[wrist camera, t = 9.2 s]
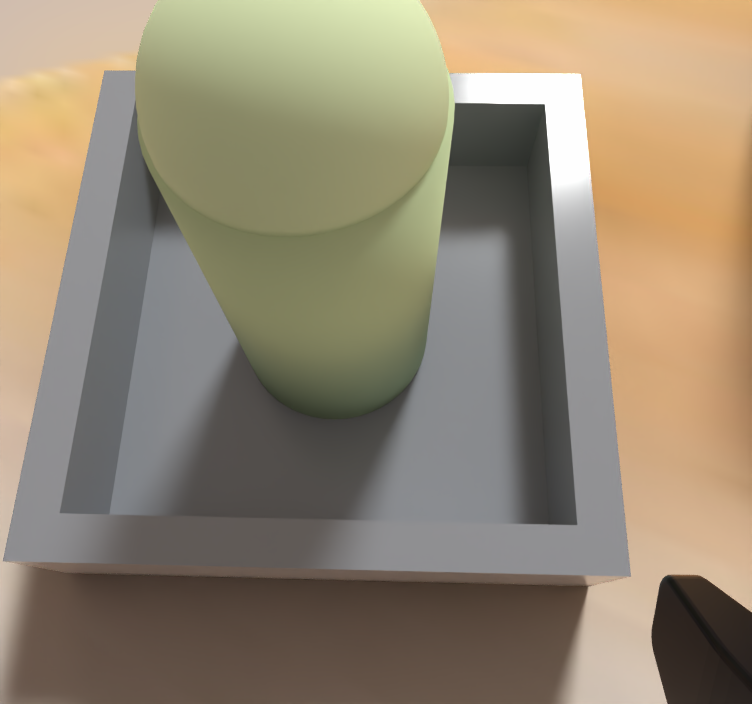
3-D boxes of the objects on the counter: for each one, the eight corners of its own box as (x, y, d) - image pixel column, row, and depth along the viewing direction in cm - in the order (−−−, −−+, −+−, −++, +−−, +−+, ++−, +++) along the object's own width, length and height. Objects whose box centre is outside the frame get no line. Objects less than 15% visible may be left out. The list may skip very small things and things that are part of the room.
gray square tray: (68, 573, 20) (2, 561, 16) (143, 146, 25) (104, 70, 21) (588, 586, 19) (630, 576, 16) (554, 150, 24) (580, 74, 21)
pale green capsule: (280, 447, 20) (128, 192, 8) (224, 288, 22) (37, -101, 10) (455, 379, 21) (539, 55, 9) (387, 230, 23) (383, -197, 11)
